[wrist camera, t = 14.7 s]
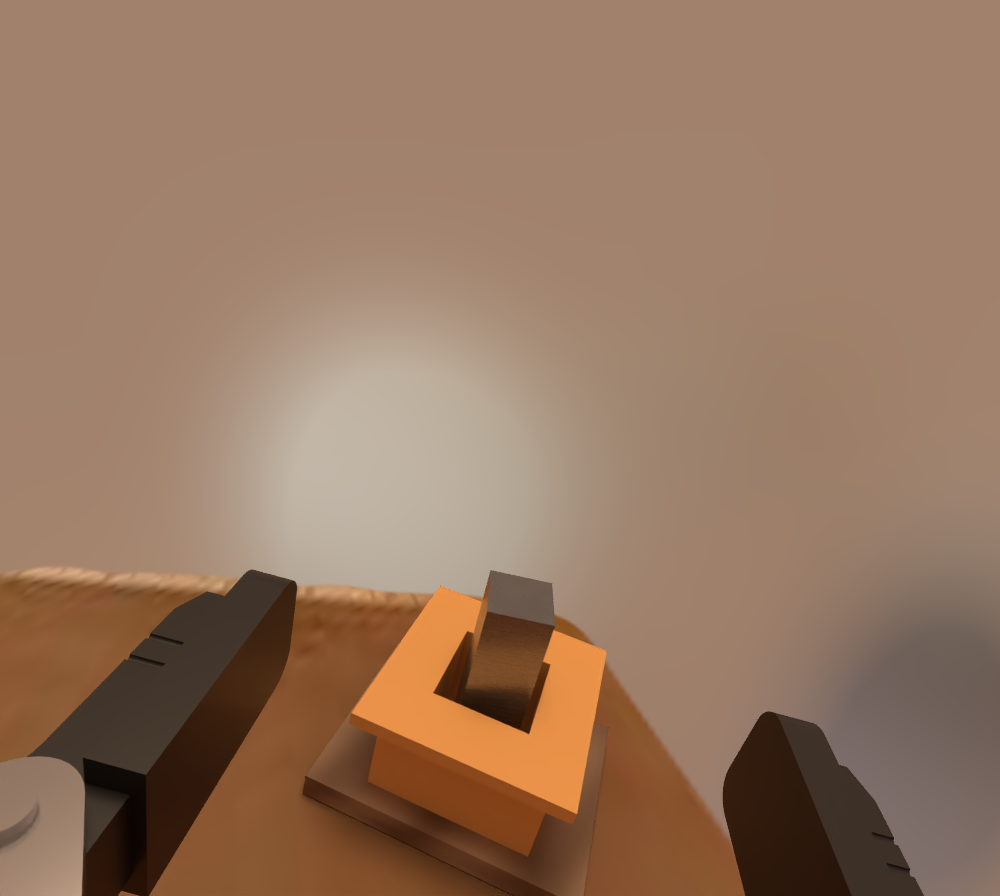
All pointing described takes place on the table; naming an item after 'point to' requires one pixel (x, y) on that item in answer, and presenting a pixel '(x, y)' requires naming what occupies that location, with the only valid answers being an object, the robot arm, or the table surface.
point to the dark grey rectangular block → (507, 647)
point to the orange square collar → (480, 730)
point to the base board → (531, 880)
